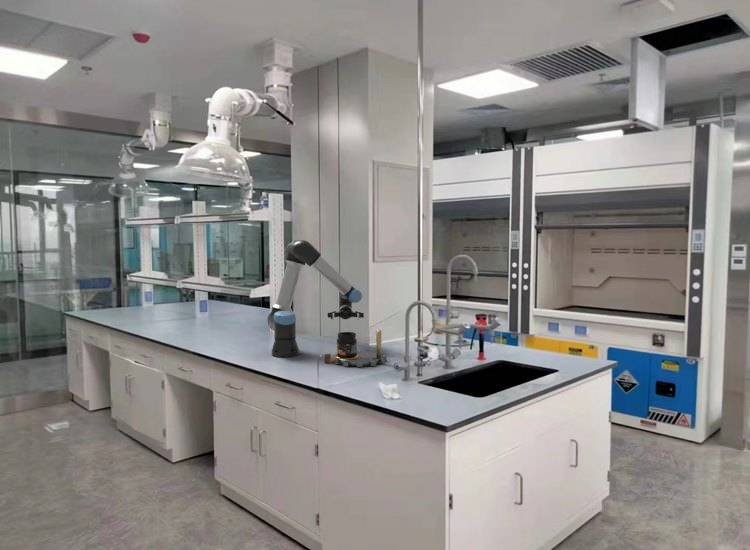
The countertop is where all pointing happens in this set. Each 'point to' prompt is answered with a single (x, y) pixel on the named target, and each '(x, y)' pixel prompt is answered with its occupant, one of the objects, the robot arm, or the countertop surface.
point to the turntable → (364, 356)
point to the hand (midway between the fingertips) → (345, 317)
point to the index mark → (327, 358)
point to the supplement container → (346, 345)
